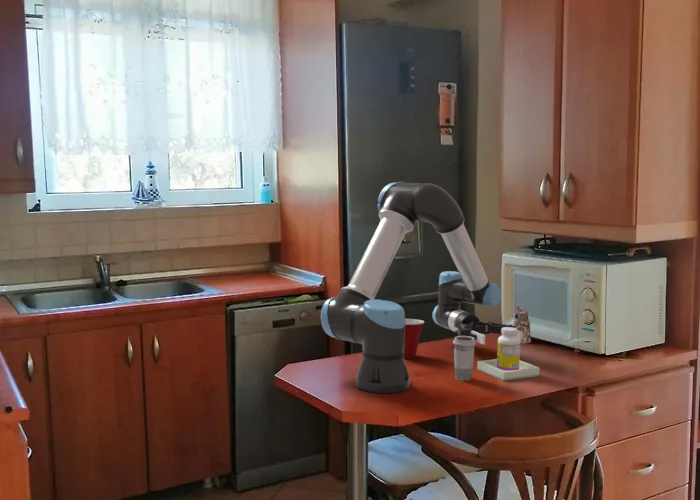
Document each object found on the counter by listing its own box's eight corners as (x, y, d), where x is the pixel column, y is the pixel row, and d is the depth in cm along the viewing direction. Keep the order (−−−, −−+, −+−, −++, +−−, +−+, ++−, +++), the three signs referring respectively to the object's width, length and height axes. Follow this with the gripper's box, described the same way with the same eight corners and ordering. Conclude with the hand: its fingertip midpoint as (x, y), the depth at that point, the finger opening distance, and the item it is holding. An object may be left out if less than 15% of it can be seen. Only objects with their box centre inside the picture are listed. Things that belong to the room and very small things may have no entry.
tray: (503, 380, 217) (503, 372, 217) (477, 369, 229) (477, 361, 229) (539, 376, 223) (539, 367, 222) (511, 364, 234) (512, 357, 234)
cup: (472, 383, 215) (474, 342, 213) (449, 380, 217) (451, 339, 215) (476, 376, 221) (478, 336, 220) (453, 374, 223) (455, 334, 222)
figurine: (517, 343, 261) (518, 310, 260) (506, 339, 268) (507, 306, 267) (534, 342, 264) (536, 309, 262) (523, 338, 270) (524, 305, 269)
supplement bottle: (498, 366, 230) (499, 325, 228) (520, 368, 228) (522, 327, 226) (495, 372, 224) (496, 330, 222) (517, 374, 222) (519, 332, 220)
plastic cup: (423, 352, 248) (424, 316, 246) (423, 361, 237) (424, 323, 235) (390, 351, 249) (391, 315, 247) (388, 359, 238) (389, 322, 236)
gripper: (495, 331, 253) (535, 346, 233) (431, 337, 242) (467, 353, 223) (496, 309, 252) (536, 322, 233) (431, 315, 242) (468, 329, 222)
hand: (502, 338), depth 228 cm, fingers open, 13 cm apart
